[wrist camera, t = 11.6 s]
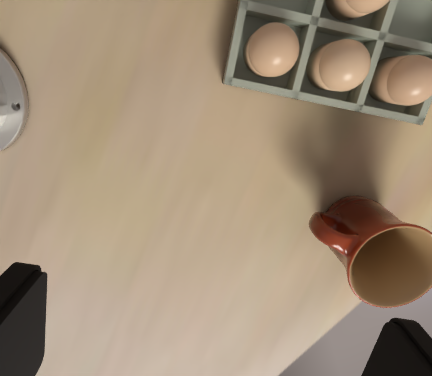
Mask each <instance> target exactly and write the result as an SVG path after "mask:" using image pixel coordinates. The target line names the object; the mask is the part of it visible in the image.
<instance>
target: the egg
mask: <svg viewBox="0 0 432 376" xmlns="http://www.w3.org/2000/svg"><path fill="white" fill-rule="evenodd" d="M325 1H326V6H327V9H328V11H329V12H330V14H331V15H332V16H333V17H335V18H336V19H338V20H341V21H349V20H353V19H356V18H358V17H361V16H364V15H367V14H369V13H372V12H375V11H377V10H379V9H380V8H382V7H383V6H384V5H386V4H387V3H388V2H389V1H390V0H325Z"/></svg>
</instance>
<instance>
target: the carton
mask: <svg viewBox="0 0 432 376" xmlns="http://www.w3.org/2000/svg"><path fill="white" fill-rule="evenodd" d="M222 83H223V84H226V85H231V86H236V87H241V88H246V89H250V90H255V91H260V92H265V93H270V94H275V95H279V96H284V97H289V98H294V99H299V100H303V101H308V102H313V103H318V104H323V105H327V106H332V107H337V108H342V109H347V110H352V111H356V112H361V113H366V114H371V115H376V116H380V117H385V118H390V119H395V120H400V121H404V122H409V123H414V124H419V125H422V124H423V122H424V119H425V117H426V114H427V112H428V109H429V107H430V104H431V102H432V0H390V1H389V2H388V3H387V4H386V5H384V6H383V7H382V8H380V9H379V10H377V11H375V12H372V13H369V14H367V15H364V16H361V17H358V18H356V19H353V20H349V21H341V20H338V19H336V18H335V17H333V16H332V15H331V14H330V12H329V11H328V9H327V6H326V1H325V0H238V5H237V10H236V15H235V21H234V26H233V31H232V36H231V41H230V46H229V51H228V57H227V62H226V67H225V72H224V77H223V82H222Z"/></svg>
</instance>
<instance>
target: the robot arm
mask: <svg viewBox="0 0 432 376" xmlns="http://www.w3.org/2000/svg"><path fill="white" fill-rule="evenodd" d="M18 104H20V107H19V105H18ZM28 106H29V103H28V95H27V90H26V87H25V84H24V81H23V78H22V76H21V74H20V72H19V70H18V68H17V67H16V65H15V64H14V63H13V61H12V60H11V59H10V57H9V56H8V55H7V54H6V53H5V52H4V51H3V50H2V49H1V48H0V151H2V150H4V149H6V148H7V147H9V146H10V145H11V144H13V143H14V142H15V141H16V139H17V138H18V137H19V136H20V135H21V133H22V131H23V129H24V127H25V124H26V121H27V117H28ZM46 297H47V273H46V272H41V268H40V266H39V265H33V264H26V263H19V262H15V263H13V264H12V265H11V266H10V267H9V268H8V269H7V270H6V271H5V272H4V273H3V274H2V275H1V276H0V376H35V375H36V373H37V372H38V370H39V368H40V366H41V363H42V360H43V357H44V349H45V323H46ZM362 376H432V338H431V337H430V336H429V335H428V334H427V332H426V331H425V330H424V329H423V328H422V327H421V325H420V324H419V323H417V322H416V321H413V320H407V319H400V318H392V319H391V320H390V321H389V322H387V323H385V325H384V326H383V328H382V331H381V333H380V335H379V338H378V340H377V342H376V344H375V346H374V349H373V351H372V353H371V355H370V358H369V360H368V362H367V364H366V367H365V369H364V371H363V373H362Z"/></svg>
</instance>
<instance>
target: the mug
mask: <svg viewBox="0 0 432 376" xmlns="http://www.w3.org/2000/svg"><path fill="white" fill-rule="evenodd" d="M309 227H310V229H311V231H312V233H313V234H314V236H315V237H316V238H317V239H319V240H320V241H321V242H323V243H324V244H326V245H328V246H329V248H330V249H331V250H332V251H333V252H334V254H335V255H336V256H337V258H338V259H339V260H340V261H341V262H342V264H343V265H344V266H345V268H346V272H347V278H348V282H349V285H350V287H351V289H352V291H353V292H354V294H355V295H356V296H357V297H358V298H359V299H360V300H362V301H363V302H365V303H367V304H370V305H372V306H376V307H384V308H388V307H389V308H391V307H397V306H402V305H405V304H408V303H410V302H413V301H415V300H416V299H418V298H420V297H421V296H422V295H424V294H425V293H426V292H427V291H429V289H430V288H431V287H432V233H431V232H430V231H429V230H427V229H425V228H423V227H421V226H418V225H414V224H409V223H405V222H402V221H400V220H399V219H398V218H397V217H396V216H395V215H393V214H392V213H391V212H390V211H388V210H387V209H386V208H385V207H384V206H382V205H381V204H380V203H378V202H376V201H373V200H370V199H368V198H365V197H362V196H350V197H346V198H343V199H341V200H339V201H337V202H335V203H334V204H333V205H332V206H331V207H330V208H329V209H328V211H327V212H326V213H324V212H315V213H314V214H313V215H312V217H311V218H310V220H309Z"/></svg>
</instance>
